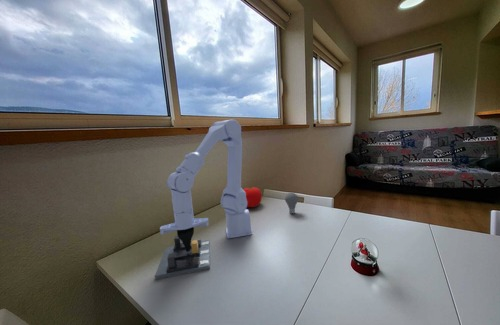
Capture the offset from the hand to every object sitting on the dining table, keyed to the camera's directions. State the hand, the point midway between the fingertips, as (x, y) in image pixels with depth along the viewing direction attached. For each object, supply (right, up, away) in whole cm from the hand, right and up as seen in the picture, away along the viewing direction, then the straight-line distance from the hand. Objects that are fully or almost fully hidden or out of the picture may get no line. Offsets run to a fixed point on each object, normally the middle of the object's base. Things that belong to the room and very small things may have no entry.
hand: (188, 249), depth 64 cm
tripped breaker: (+2, -1, 0) cm, 2 cm away
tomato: (+21, +4, +44) cm, 49 cm away
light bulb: (+40, +4, +30) cm, 50 cm away
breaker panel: (-1, -3, 0) cm, 3 cm away
